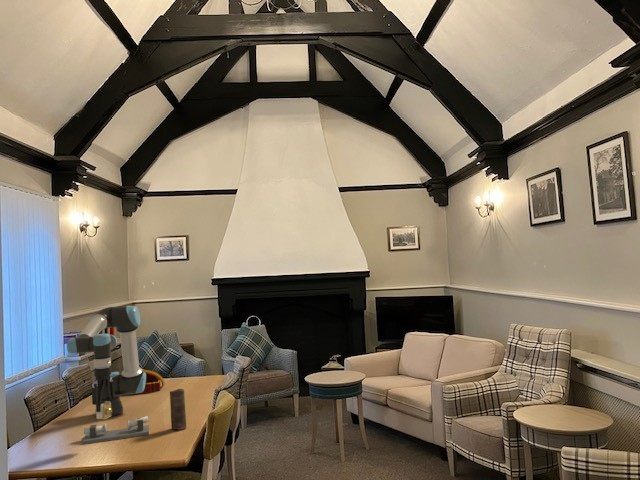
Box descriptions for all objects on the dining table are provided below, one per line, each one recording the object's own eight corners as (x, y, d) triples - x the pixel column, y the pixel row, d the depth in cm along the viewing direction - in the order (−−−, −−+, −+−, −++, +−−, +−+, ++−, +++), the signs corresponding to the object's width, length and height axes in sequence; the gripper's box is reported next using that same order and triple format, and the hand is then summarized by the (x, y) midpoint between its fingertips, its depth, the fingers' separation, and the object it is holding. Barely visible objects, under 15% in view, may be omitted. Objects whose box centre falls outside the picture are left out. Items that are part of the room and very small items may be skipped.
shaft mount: (83, 444, 245) (82, 427, 245) (86, 436, 256) (85, 420, 257) (149, 434, 254) (148, 418, 255) (149, 428, 266) (148, 412, 266)
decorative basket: (106, 399, 343) (104, 378, 342) (125, 383, 372) (123, 363, 371) (156, 398, 342) (154, 376, 340) (170, 382, 371) (169, 362, 369)
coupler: (94, 418, 240) (93, 405, 240) (101, 415, 244) (100, 403, 244) (106, 419, 237) (106, 406, 238) (113, 416, 242) (113, 403, 242)
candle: (172, 432, 257) (171, 391, 258) (169, 428, 263) (168, 389, 264) (187, 429, 260) (186, 389, 262) (184, 425, 267) (183, 386, 268)
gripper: (95, 371, 232) (96, 423, 231) (121, 363, 249) (123, 411, 248) (82, 370, 235) (83, 422, 234) (109, 363, 251) (110, 411, 250)
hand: (104, 416), depth 241 cm, fingers closed on coupler, 4 cm apart
